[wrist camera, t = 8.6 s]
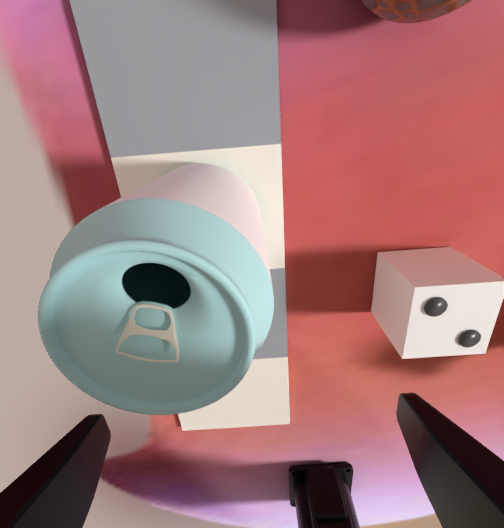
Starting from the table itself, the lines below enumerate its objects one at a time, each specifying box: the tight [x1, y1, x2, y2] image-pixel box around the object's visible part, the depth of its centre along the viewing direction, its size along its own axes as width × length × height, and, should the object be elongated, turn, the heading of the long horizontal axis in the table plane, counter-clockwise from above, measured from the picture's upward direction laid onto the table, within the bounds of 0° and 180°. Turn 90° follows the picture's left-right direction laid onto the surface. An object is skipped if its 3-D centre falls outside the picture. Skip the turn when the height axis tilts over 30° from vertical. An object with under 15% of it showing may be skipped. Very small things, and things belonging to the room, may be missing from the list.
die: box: [371, 247, 504, 359], centre depth 19 cm, size 5×5×5 cm
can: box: [38, 163, 274, 415], centre depth 13 cm, size 7×7×12 cm
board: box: [70, 0, 290, 431], centre depth 21 cm, size 32×10×1 cm, turn 4°
